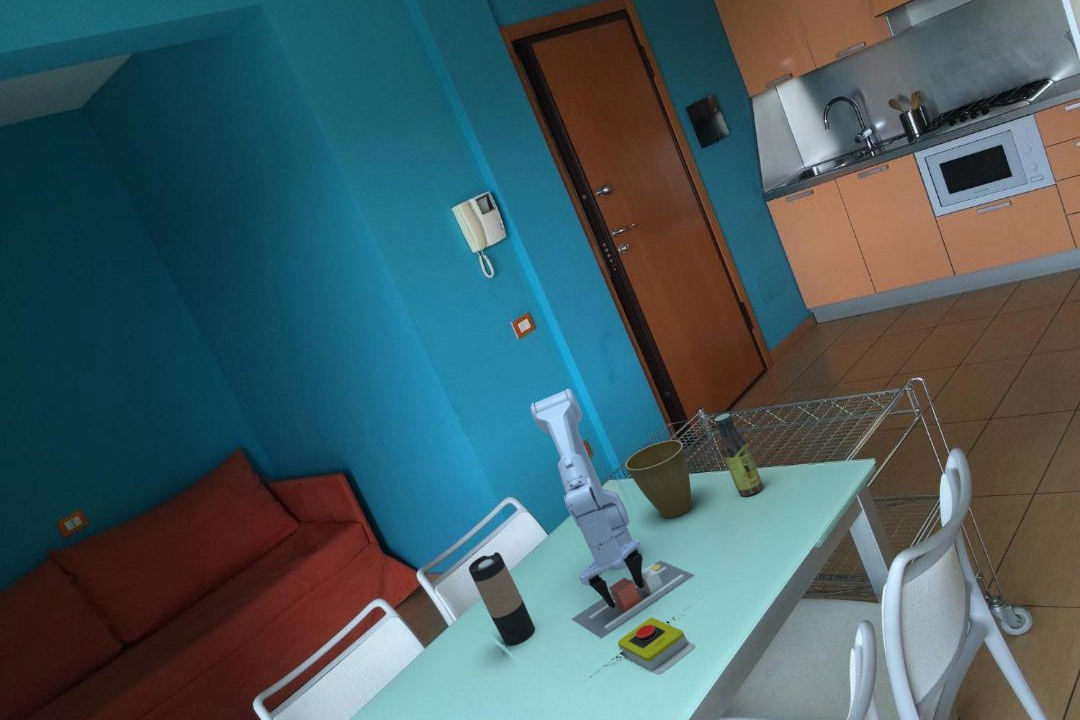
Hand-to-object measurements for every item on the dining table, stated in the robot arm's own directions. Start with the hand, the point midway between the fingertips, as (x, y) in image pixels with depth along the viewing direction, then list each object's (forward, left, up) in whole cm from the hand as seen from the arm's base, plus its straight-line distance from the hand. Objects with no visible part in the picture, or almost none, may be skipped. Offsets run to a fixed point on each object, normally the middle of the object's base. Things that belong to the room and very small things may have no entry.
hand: (626, 596), depth 189 cm
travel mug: (-16, -20, -4) cm, 26 cm away
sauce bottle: (-16, +46, -4) cm, 49 cm away
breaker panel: (-2, +2, -4) cm, 5 cm away
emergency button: (+17, -5, -4) cm, 18 cm away
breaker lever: (0, +6, -2) cm, 6 cm away
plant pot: (-29, +32, -4) cm, 44 cm away
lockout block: (0, 0, -2) cm, 2 cm away
